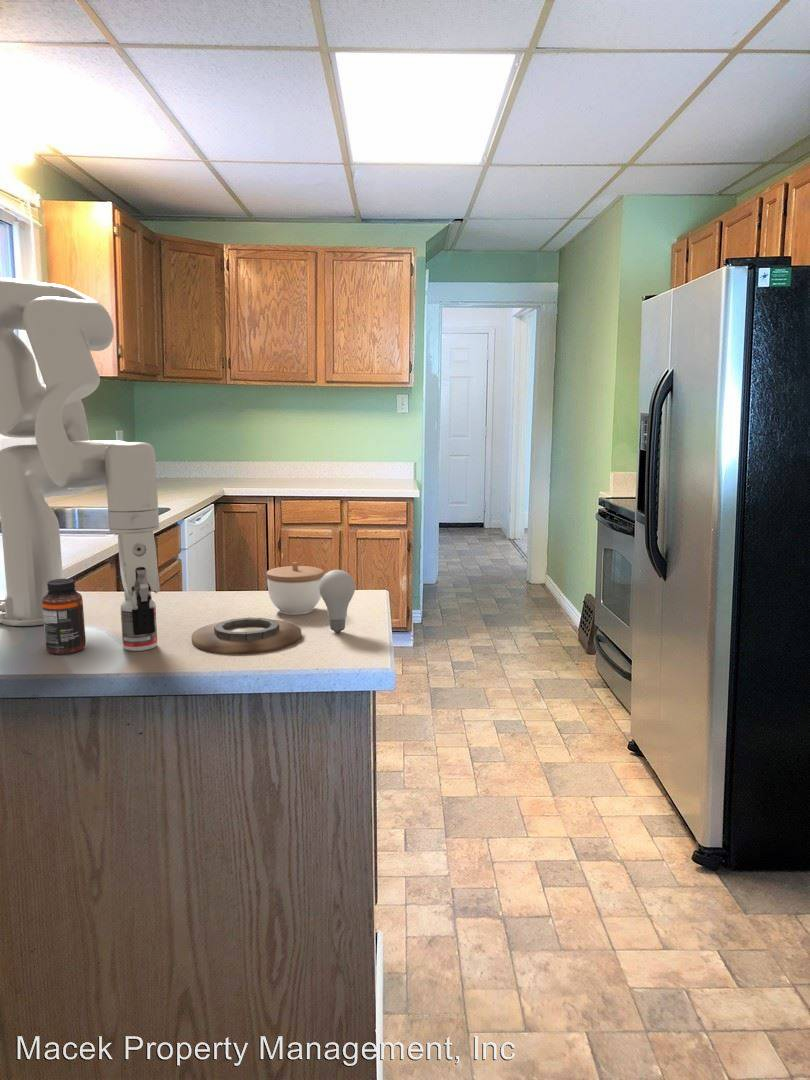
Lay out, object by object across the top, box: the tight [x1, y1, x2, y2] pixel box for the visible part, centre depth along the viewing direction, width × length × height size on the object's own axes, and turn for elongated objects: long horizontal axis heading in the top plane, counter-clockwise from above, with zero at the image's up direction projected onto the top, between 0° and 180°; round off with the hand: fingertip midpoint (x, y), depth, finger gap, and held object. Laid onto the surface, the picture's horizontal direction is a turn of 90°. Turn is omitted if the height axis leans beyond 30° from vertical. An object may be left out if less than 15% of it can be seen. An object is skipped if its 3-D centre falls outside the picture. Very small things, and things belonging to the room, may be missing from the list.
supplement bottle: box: [42, 578, 87, 656], centre depth 131 cm, size 6×6×11 cm
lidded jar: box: [266, 561, 325, 616], centre depth 157 cm, size 11×11×9 cm
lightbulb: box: [319, 569, 356, 634], centre depth 141 cm, size 6×6×11 cm
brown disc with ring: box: [191, 617, 302, 655], centre depth 139 cm, size 18×18×2 cm
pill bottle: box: [120, 588, 158, 652], centre depth 133 cm, size 5×5×10 cm
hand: (140, 626), depth 133 cm, fingers open, 9 cm apart
